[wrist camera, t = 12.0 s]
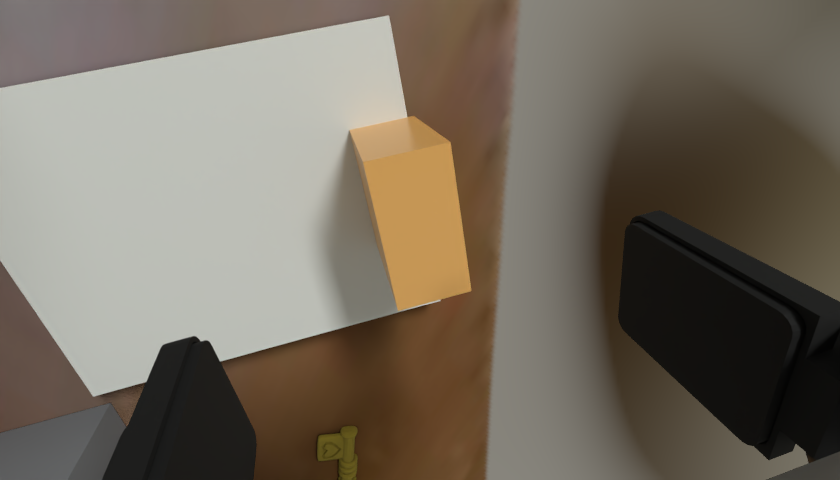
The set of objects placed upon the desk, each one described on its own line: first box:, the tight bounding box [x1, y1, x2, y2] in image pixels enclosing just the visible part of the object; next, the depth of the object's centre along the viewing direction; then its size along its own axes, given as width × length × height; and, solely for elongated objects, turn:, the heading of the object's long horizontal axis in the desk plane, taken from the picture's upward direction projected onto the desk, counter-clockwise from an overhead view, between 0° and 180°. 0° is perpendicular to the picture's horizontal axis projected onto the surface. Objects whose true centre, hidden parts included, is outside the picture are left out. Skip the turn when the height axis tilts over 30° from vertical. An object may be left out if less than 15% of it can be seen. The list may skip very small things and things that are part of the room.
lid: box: [0, 16, 471, 397], centre depth 18 cm, size 14×19×8 cm
